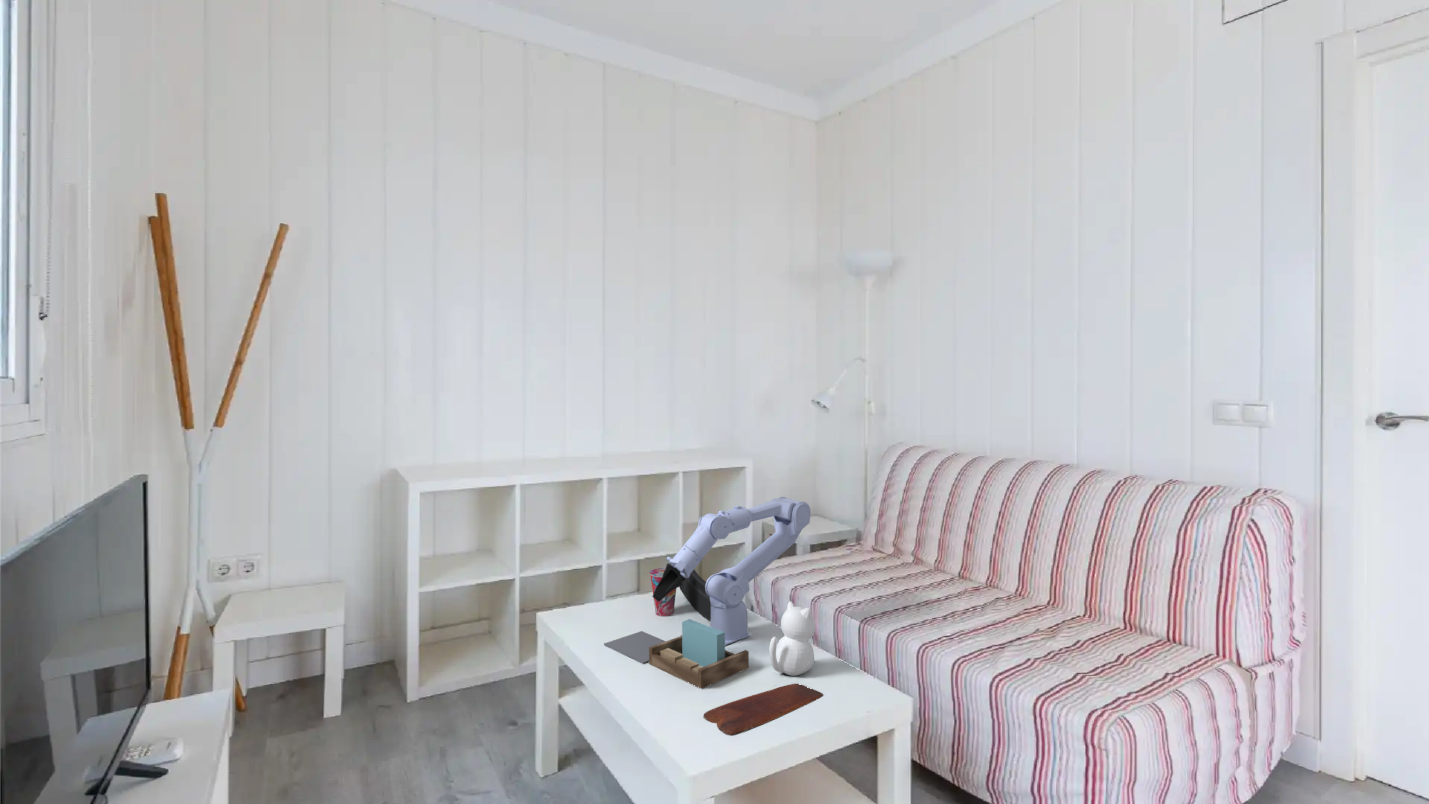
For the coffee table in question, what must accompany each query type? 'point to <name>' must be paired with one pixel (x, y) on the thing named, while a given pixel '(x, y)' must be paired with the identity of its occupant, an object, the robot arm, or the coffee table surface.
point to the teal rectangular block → (702, 643)
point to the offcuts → (680, 659)
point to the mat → (635, 645)
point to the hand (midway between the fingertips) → (656, 597)
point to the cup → (668, 602)
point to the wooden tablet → (760, 708)
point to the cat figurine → (794, 642)
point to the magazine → (697, 594)
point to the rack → (705, 674)
